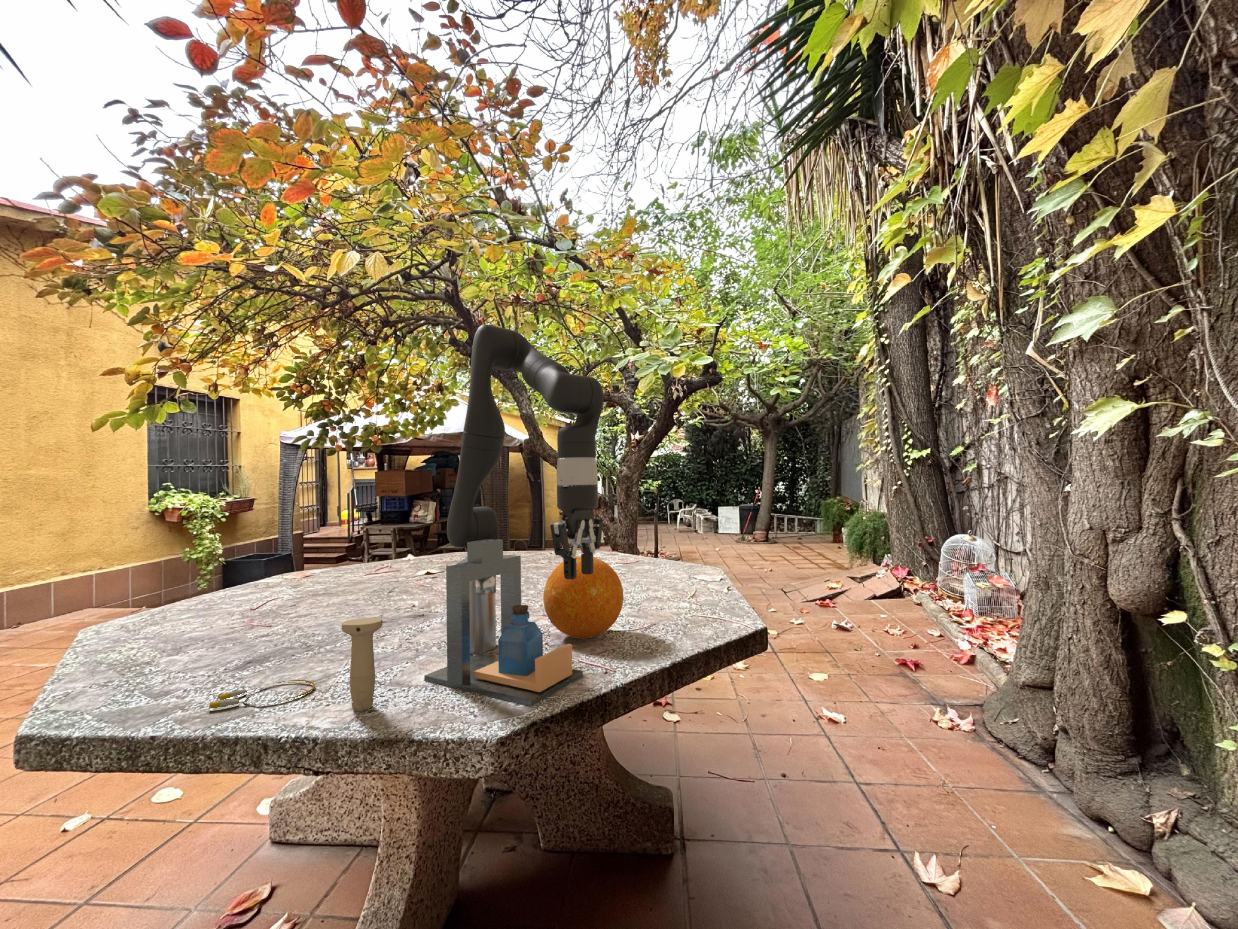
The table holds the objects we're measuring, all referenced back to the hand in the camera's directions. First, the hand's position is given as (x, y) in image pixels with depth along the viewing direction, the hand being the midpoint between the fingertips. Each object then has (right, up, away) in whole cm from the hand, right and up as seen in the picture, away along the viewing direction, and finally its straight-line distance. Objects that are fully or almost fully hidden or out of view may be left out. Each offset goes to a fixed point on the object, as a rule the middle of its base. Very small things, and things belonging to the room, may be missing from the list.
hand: (579, 576), depth 97 cm
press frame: (-16, -22, +8) cm, 28 cm away
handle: (-37, -22, -4) cm, 44 cm away
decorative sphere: (-1, -23, +36) cm, 43 cm away
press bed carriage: (-11, -21, +6) cm, 24 cm away
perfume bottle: (-12, -20, +6) cm, 24 cm away
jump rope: (-58, -23, +2) cm, 63 cm away
